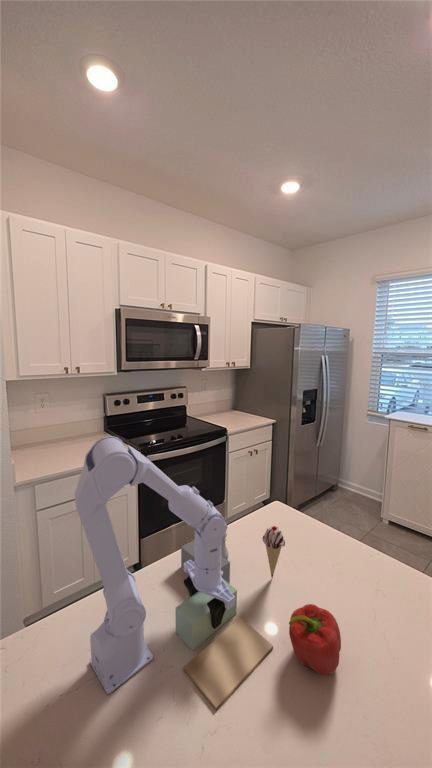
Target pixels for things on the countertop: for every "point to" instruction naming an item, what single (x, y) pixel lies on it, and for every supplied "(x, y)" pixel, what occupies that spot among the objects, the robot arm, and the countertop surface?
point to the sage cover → (199, 618)
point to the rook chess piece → (224, 547)
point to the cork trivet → (227, 661)
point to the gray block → (189, 554)
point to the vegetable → (315, 638)
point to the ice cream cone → (273, 546)
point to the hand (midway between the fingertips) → (207, 616)
